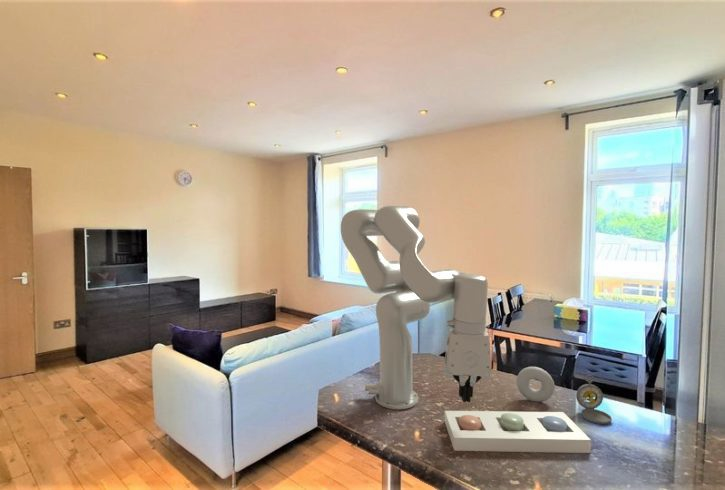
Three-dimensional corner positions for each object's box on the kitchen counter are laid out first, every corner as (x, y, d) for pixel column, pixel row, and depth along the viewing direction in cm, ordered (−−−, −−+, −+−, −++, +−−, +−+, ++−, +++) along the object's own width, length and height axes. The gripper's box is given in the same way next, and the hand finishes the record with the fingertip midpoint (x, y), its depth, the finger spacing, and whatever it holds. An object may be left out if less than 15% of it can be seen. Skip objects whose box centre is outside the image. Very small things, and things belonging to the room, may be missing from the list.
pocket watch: (602, 428, 89) (602, 388, 89) (569, 412, 97) (569, 376, 96) (620, 419, 93) (621, 382, 93) (587, 405, 101) (588, 370, 100)
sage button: (505, 432, 84) (505, 423, 84) (498, 420, 89) (498, 412, 89) (526, 432, 84) (526, 424, 83) (518, 421, 89) (518, 413, 88)
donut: (554, 401, 103) (554, 367, 102) (554, 407, 100) (555, 372, 99) (516, 395, 107) (516, 362, 107) (515, 400, 104) (516, 366, 104)
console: (454, 450, 81) (454, 437, 81) (444, 421, 93) (444, 410, 93) (590, 453, 80) (590, 439, 79) (563, 423, 92) (563, 412, 91)
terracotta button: (461, 434, 84) (461, 425, 84) (457, 422, 89) (457, 414, 89) (483, 434, 84) (483, 426, 84) (477, 423, 89) (477, 415, 89)
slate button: (548, 435, 83) (548, 427, 83) (539, 423, 88) (539, 415, 88) (570, 435, 83) (570, 427, 83) (560, 424, 88) (560, 416, 88)
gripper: (440, 330, 82) (436, 406, 84) (506, 332, 82) (501, 409, 83) (435, 320, 90) (432, 390, 92) (495, 322, 89) (491, 393, 91)
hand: (465, 399), depth 87 cm, fingers closed
